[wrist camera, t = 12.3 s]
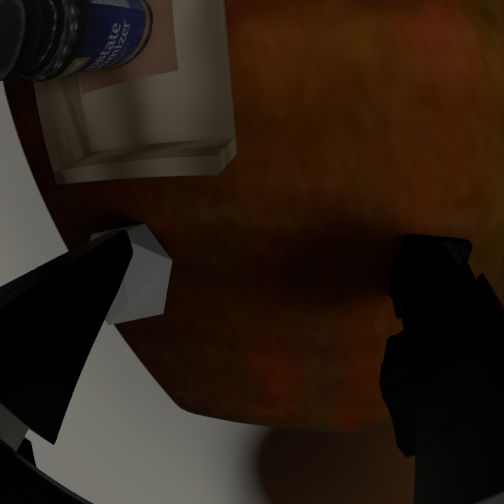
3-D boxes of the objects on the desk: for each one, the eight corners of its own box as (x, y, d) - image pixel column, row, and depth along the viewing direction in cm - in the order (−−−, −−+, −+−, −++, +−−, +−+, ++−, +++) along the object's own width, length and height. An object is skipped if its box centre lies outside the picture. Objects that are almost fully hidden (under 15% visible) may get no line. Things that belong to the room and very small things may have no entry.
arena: (220, -54, 12) (196, -75, 8) (237, 153, 21) (218, 174, 17) (64, 2, 14) (27, 3, 11) (88, 164, 24) (56, 184, 20)
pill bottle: (122, 81, 18) (3, 120, 9) (79, 41, 16) (-36, 64, 8) (173, 18, 15) (52, 7, 6) (122, -20, 13) (4, -33, 4)
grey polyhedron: (99, 212, 27) (65, 303, 25) (114, 193, 21) (67, 316, 18) (167, 244, 32) (138, 329, 29) (203, 237, 25) (166, 349, 22)
